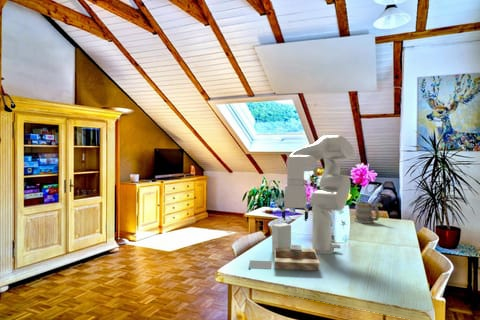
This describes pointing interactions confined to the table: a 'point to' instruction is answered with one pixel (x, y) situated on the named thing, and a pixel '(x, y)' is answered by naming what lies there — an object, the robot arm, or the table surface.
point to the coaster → (260, 264)
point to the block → (295, 252)
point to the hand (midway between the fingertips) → (294, 220)
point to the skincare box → (281, 236)
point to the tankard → (366, 212)
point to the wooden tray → (295, 260)
